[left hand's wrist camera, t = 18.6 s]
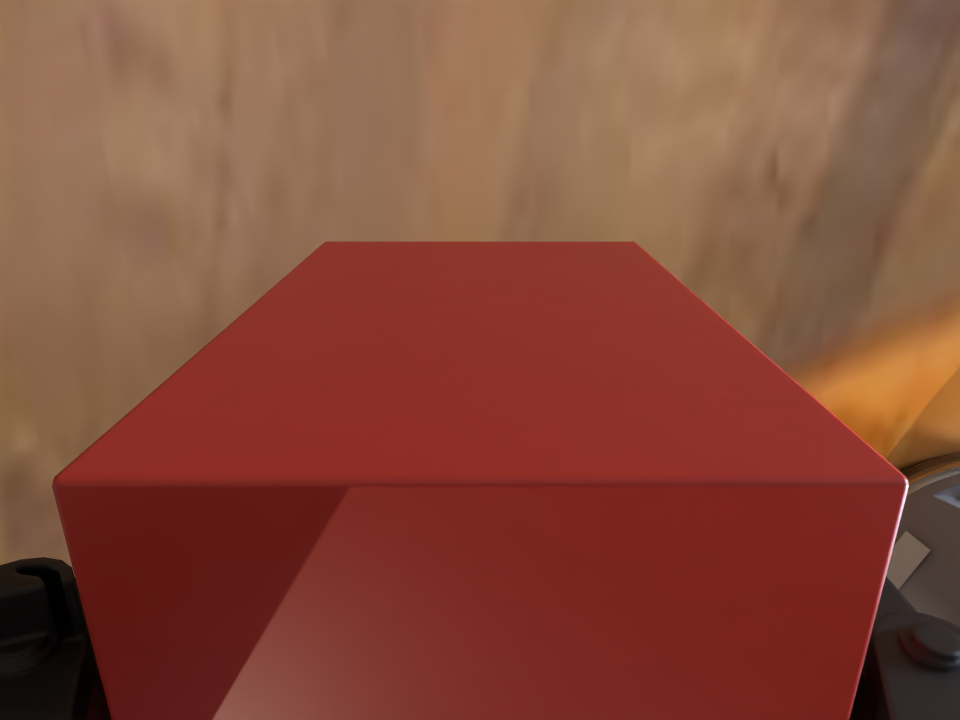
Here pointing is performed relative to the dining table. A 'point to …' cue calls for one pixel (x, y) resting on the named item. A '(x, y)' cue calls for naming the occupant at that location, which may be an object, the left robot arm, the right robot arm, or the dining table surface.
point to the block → (480, 505)
